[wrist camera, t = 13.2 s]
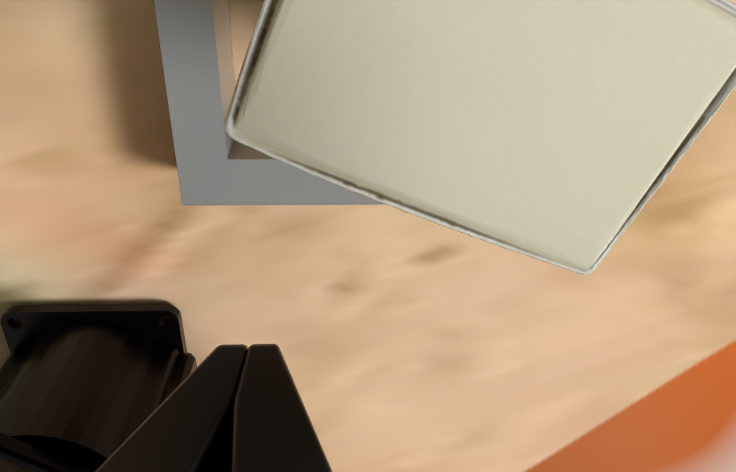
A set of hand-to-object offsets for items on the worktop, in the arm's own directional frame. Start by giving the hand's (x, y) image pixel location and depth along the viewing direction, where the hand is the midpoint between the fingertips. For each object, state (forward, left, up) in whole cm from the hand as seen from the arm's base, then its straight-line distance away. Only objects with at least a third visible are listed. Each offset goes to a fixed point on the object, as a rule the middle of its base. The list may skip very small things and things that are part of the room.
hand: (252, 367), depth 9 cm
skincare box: (+3, +4, -13) cm, 14 cm away
